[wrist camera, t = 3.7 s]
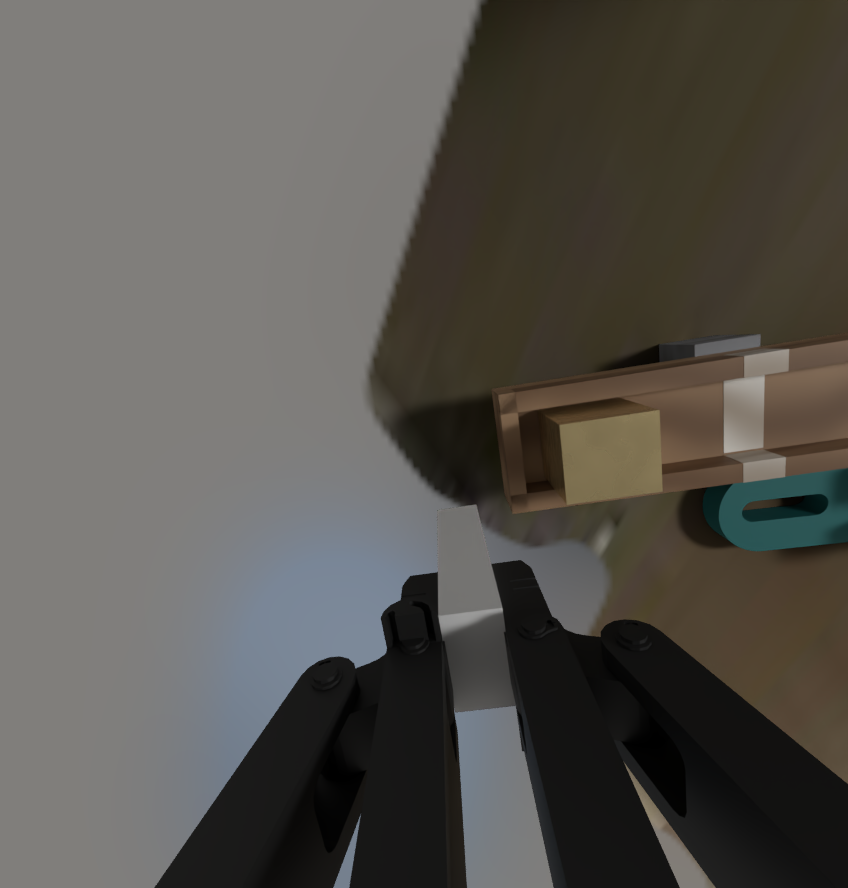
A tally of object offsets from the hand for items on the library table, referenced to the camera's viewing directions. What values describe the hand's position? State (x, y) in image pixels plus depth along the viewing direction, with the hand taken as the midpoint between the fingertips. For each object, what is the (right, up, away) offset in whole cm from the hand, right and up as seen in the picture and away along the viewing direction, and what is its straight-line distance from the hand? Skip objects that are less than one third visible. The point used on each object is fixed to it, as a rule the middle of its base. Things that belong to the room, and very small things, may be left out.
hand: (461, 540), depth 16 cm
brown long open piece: (+19, +7, +16) cm, 25 cm away
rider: (+8, +4, +11) cm, 14 cm away
